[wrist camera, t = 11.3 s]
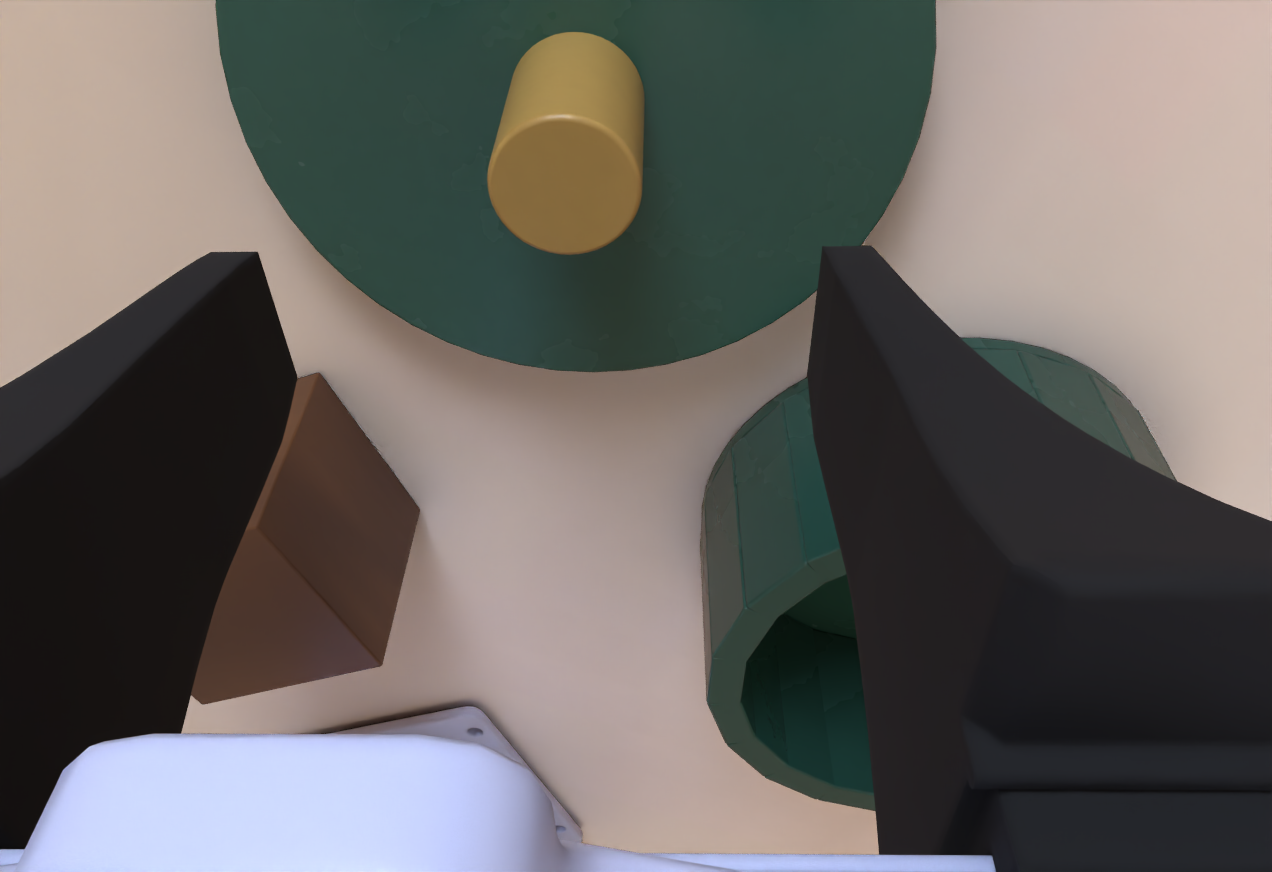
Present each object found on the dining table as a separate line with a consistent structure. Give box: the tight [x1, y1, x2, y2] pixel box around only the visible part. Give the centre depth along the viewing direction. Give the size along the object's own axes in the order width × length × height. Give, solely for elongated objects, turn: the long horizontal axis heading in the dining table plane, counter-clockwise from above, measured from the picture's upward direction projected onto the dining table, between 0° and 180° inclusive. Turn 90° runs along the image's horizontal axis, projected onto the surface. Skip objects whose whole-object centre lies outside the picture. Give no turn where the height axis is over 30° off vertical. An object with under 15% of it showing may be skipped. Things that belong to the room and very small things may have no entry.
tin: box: [700, 338, 1177, 811], centre depth 25 cm, size 12×12×5 cm
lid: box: [216, 0, 936, 372], centre depth 17 cm, size 13×13×4 cm
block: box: [191, 373, 420, 704], centre depth 24 cm, size 5×5×5 cm
